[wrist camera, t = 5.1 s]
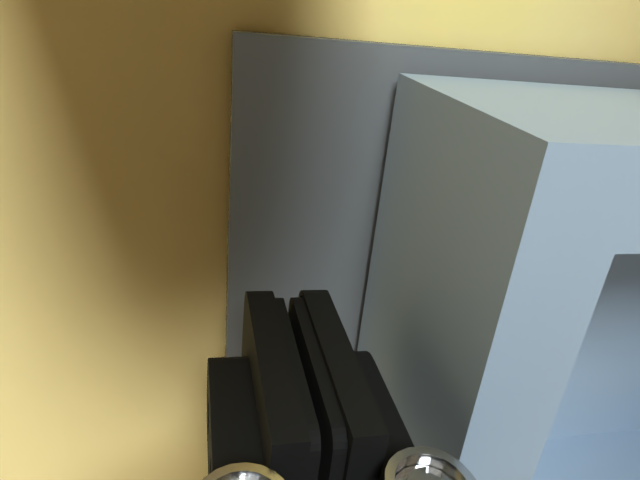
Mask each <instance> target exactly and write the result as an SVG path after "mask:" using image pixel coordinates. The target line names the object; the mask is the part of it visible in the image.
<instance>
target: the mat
mask: <svg viewBox="0 0 640 480" xmlns="http://www.w3.org/2000/svg"><path fill="white" fill-rule="evenodd" d="M399 73H406V74H421V75H435V76H450V77H464V78H479V79H493V80H508V81H522V82H537V83H551V84H566V85H580V86H595V87H609V88H624V89H638V90H640V64H637V63H625V62H613V61H600V60H588V59H576V58H564V57H552V56H540V55H528V54H515V53H503V52H491V51H479V50H467V49H455V48H442V47H430V46H418V45H406V44H394V43H382V42H369V41H357V40H345V39H333V38H321V37H309V36H297V35H284V34H272V33H260V32H248V31H236V30H233V35H232V81H231V128H230V175H229V221H228V268H227V314H226V357H241V353H242V334H243V315H244V297H245V292H246V291H273V293H274V296H275V298H284V301H285V305H286V308H287V312H288V309H289V301H290V298H291V297H298V296H299V292H300V291H301V290H328V292H329V294H330V296H331V299H332V301H333V303H334V306H335V308H336V310H337V313H338V315H339V317H340V320H341V322H342V324H343V327H344V329H345V331H346V334H347V336H348V338H349V341H350V343H351V345H352V348H353V350H354V351H357V348H358V342H359V335H360V328H361V322H362V315H363V308H364V302H365V295H366V289H367V282H368V275H369V269H370V262H371V255H372V249H373V242H374V235H375V229H376V222H377V215H378V209H379V202H380V195H381V189H382V182H383V175H384V169H385V162H386V155H387V149H388V142H389V135H390V129H391V122H392V115H393V109H394V102H395V95H396V89H397V82H398V75H399Z"/></svg>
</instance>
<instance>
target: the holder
mask: <svg viewBox="0 0 640 480" xmlns="http://www.w3.org/2000/svg"><path fill="white" fill-rule="evenodd" d="M357 351H368V352H370V354H371V355H372V357H373V359H374V361H375V363H376V365H377V367H378V369H379V371H380V374H381V376H382V378H383V380H384V382H385V384H386V386H387V388H388V391H389V393H390V395H391V397H392V399H393V401H394V403H395V406H396V408H397V410H398V412H399V414H400V416H401V418H402V420H403V423H404V425H405V427H406V429H407V431H408V433H409V435H410V438H411V440H412V442H413V444H414V446H415V447H418V446H423V447H429V448H435V449H438V450H440V451H443V452H445V453H448V454H450V455H451V456H453V457H454V458H456V459H457V460H459V461H460V462H462V464H463V465H464V466H465V467H466V468H467V469H468V470H469V471H470V472H471V473H472V474H473V476H474V477H475V478H476V480H640V90H638V89H624V88H609V87H595V86H580V85H566V84H551V83H537V82H522V81H508V80H493V79H479V78H464V77H450V76H435V75H421V74H406V73H399V75H398V82H397V89H396V95H395V102H394V109H393V115H392V122H391V129H390V135H389V142H388V149H387V155H386V162H385V169H384V175H383V182H382V189H381V195H380V202H379V209H378V215H377V222H376V229H375V235H374V242H373V249H372V255H371V262H370V269H369V275H368V282H367V289H366V295H365V302H364V308H363V315H362V322H361V328H360V335H359V342H358V348H357Z"/></svg>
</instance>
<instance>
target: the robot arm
mask: <svg viewBox="0 0 640 480" xmlns="http://www.w3.org/2000/svg"><path fill="white" fill-rule="evenodd" d="M207 441H208V475H207V476H206V477H204V478H203V480H476V478H475V477H474V476H473V474H472V473H471V472H470V471H469V470H468V469H467V468H466V467H465V466H464V465H463V464H462V462H460V461H459V460H457V459H456V458H454V457H453V456H451V455H450V454H448V453H445V452H443V451H440V450H438V449H435V448H429V447H423V446H418V447H415V446H414V444H413V442H412V440H411V438H410V435H409V433H408V431H407V429H406V427H405V425H404V423H403V420H402V418H401V416H400V414H399V412H398V410H397V408H396V406H395V403H394V401H393V399H392V397H391V395H390V393H389V391H388V388H387V386H386V384H385V382H384V380H383V378H382V376H381V374H380V371H379V369H378V367H377V365H376V363H375V361H374V359H373V357H372V355H371V354H370V352H368V351H354V350H353V348H352V345H351V343H350V341H349V338H348V336H347V334H346V331H345V329H344V327H343V324H342V322H341V320H340V317H339V315H338V313H337V310H336V308H335V306H334V303H333V301H332V299H331V296H330V294H329V292H328V290H301V291H300V292H299V296H298V297H291V298H290V301H289V309H288V312H287V308H286V305H285V301H284V298H275V296H274V293H273V291H246V292H245V297H244V315H243V334H242V353H241V357H221V358H208V370H207Z"/></svg>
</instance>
